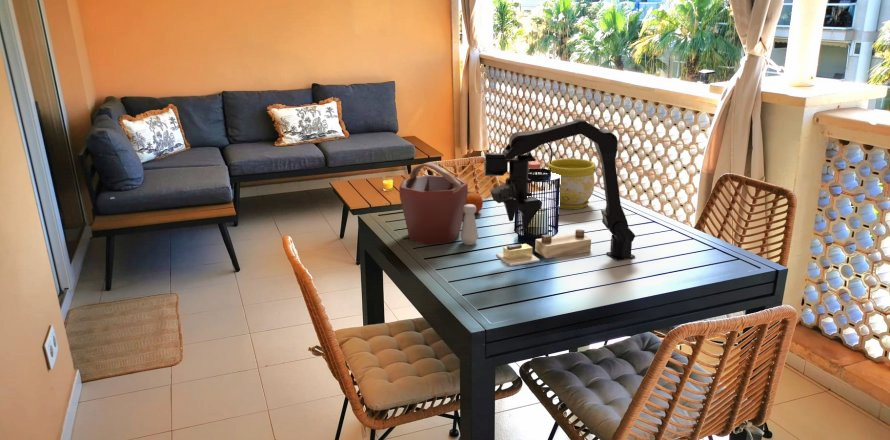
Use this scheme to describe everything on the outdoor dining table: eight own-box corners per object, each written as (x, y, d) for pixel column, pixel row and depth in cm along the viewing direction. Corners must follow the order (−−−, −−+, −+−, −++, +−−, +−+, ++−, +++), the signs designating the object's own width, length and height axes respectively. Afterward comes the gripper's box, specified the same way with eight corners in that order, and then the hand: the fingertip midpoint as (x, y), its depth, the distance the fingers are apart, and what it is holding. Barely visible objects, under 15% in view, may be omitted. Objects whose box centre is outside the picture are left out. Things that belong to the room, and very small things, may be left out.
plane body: (590, 251, 220) (591, 233, 218) (545, 258, 214) (546, 239, 213) (578, 244, 226) (579, 226, 224) (535, 251, 221) (535, 233, 219)
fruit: (468, 219, 254) (468, 198, 251) (449, 213, 261) (448, 192, 259) (488, 213, 261) (488, 192, 258) (469, 207, 268) (469, 187, 266)
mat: (539, 261, 212) (539, 259, 212) (510, 266, 209) (510, 264, 208) (524, 250, 221) (524, 249, 221) (496, 255, 217) (496, 253, 217)
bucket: (476, 243, 229) (476, 169, 221) (413, 252, 221) (411, 176, 213) (449, 222, 250) (448, 154, 243) (390, 230, 243) (387, 160, 235)
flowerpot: (597, 211, 260) (599, 168, 256) (549, 211, 261) (550, 169, 256) (589, 198, 278) (591, 158, 273) (543, 198, 278) (545, 158, 273)
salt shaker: (476, 246, 226) (476, 208, 222) (459, 245, 227) (459, 207, 223) (479, 240, 231) (479, 203, 227) (462, 239, 232) (462, 202, 228)
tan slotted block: (532, 256, 214) (532, 245, 213) (508, 260, 211) (509, 249, 210) (526, 252, 218) (526, 241, 217) (503, 256, 215) (503, 244, 214)
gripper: (481, 171, 212) (480, 219, 217) (508, 185, 196) (507, 237, 200) (513, 167, 216) (512, 215, 221) (543, 181, 200) (541, 232, 204)
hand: (517, 225), depth 211 cm, fingers open, 9 cm apart
